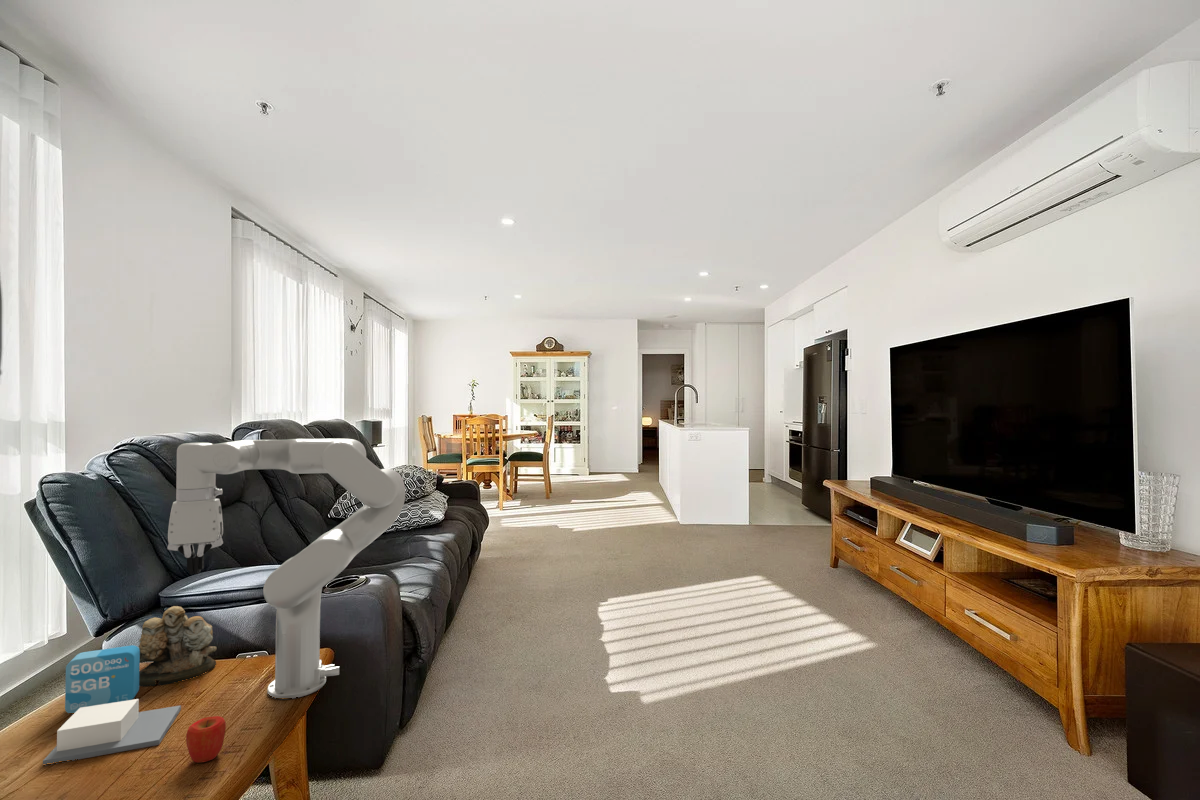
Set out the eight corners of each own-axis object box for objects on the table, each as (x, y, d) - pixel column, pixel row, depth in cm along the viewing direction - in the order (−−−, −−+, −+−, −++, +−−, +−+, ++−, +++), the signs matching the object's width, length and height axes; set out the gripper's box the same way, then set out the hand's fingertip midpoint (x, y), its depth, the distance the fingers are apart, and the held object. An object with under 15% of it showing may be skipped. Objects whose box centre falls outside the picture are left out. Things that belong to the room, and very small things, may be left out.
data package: (64, 716, 123) (65, 661, 123) (72, 706, 127) (73, 653, 127) (133, 703, 128) (134, 651, 128) (139, 694, 132) (140, 643, 132)
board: (180, 709, 126) (180, 705, 126) (159, 744, 113) (159, 739, 113) (78, 726, 119) (78, 721, 119) (42, 765, 106) (42, 760, 106)
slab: (138, 698, 121) (79, 707, 117) (121, 720, 112) (57, 730, 109) (138, 717, 121) (79, 726, 117) (120, 740, 112) (56, 751, 109)
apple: (189, 774, 104) (190, 733, 104) (182, 759, 108) (183, 720, 108) (229, 758, 108) (229, 720, 108) (220, 745, 113) (221, 708, 113)
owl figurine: (124, 694, 132) (124, 622, 133) (131, 674, 142) (131, 607, 143) (216, 674, 142) (216, 606, 143) (217, 657, 152) (217, 594, 153)
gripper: (236, 491, 138) (236, 565, 138) (162, 494, 133) (162, 572, 132) (229, 495, 131) (229, 573, 131) (151, 499, 126) (150, 581, 126)
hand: (195, 572), depth 132 cm, fingers closed
